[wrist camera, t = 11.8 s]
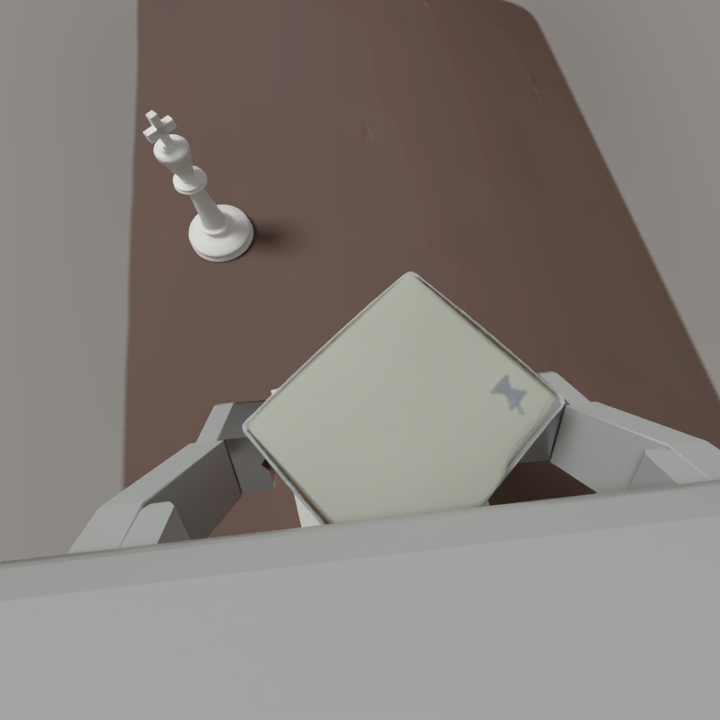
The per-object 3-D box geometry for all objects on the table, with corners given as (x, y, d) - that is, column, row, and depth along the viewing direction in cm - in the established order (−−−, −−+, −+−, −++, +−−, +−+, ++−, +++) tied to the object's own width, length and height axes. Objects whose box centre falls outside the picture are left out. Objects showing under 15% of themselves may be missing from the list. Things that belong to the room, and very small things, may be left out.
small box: (382, 360, 15) (412, 257, 7) (457, 431, 14) (576, 397, 7) (296, 444, 14) (228, 424, 6) (372, 526, 13) (397, 615, 6)
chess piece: (178, 236, 28) (83, 115, 18) (226, 199, 29) (160, 66, 19) (218, 273, 27) (141, 167, 17) (266, 234, 28) (218, 113, 18)
